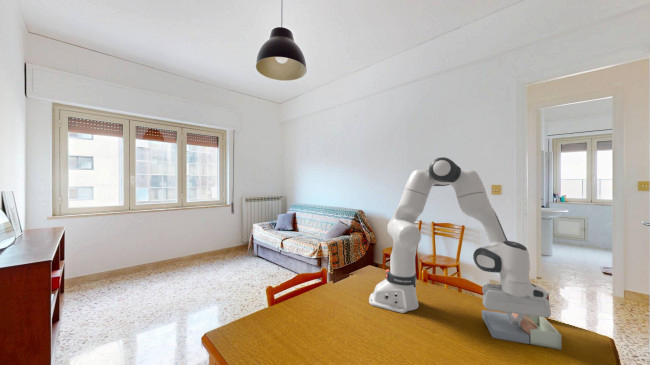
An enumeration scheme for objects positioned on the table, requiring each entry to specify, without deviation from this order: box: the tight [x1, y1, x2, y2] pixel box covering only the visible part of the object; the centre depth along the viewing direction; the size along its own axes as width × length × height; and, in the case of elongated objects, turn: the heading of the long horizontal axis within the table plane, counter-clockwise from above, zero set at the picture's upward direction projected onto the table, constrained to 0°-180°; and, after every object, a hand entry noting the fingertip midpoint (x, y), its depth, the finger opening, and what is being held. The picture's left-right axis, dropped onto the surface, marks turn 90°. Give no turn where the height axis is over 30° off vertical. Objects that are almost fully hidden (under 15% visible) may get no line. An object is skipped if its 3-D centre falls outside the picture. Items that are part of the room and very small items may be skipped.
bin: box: [526, 315, 562, 350], centre depth 94 cm, size 9×15×5 cm, turn 161°
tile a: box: [512, 313, 538, 328], centre depth 98 cm, size 6×6×2 cm
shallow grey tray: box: [481, 309, 530, 345], centre depth 97 cm, size 11×15×3 cm
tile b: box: [520, 318, 537, 334], centre depth 91 cm, size 6×6×2 cm
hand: (514, 324), depth 93 cm, fingers closed
